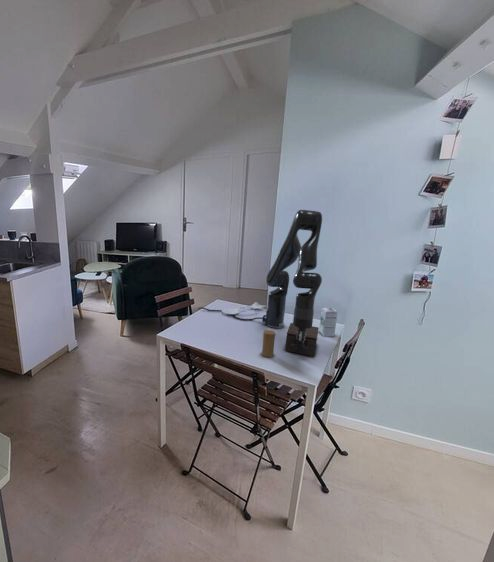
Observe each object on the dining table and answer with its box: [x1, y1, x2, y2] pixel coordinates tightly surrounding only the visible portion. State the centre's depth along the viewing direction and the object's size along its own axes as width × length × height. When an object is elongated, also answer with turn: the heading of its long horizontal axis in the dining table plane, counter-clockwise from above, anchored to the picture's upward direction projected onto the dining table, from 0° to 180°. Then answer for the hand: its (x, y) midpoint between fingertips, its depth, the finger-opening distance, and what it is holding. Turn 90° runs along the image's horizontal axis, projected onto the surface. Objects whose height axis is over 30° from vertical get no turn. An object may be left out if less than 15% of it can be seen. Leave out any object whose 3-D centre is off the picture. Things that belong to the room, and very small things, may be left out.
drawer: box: [286, 335, 315, 357], centre depth 154 cm, size 18×11×8 cm, turn 145°
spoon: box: [221, 301, 267, 316], centre depth 210 cm, size 9×32×4 cm, turn 110°
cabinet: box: [284, 322, 320, 357], centre depth 157 cm, size 15×13×10 cm
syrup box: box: [318, 307, 338, 337], centre depth 170 cm, size 6×6×14 cm
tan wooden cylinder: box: [261, 329, 276, 358], centre depth 151 cm, size 5×5×12 cm
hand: (299, 351), depth 144 cm, fingers closed
